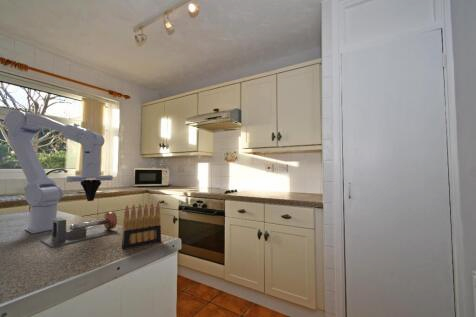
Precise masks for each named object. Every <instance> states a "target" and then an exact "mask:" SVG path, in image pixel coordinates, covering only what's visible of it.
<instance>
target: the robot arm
mask: <svg viewBox="0 0 476 317" xmlns="http://www.w3.org/2000/svg"><path fill="white" fill-rule="evenodd" d="M3 123H4V125H5V127H6V129H7V140H8V143H9V145H10V146H11V148H12V151H13V152H14V155H15V157H16V159H17V162H18V163H19V165H20V167H21V169H22V171H23V174H24V176H25V178H26V181H27V182H28V183H27V184H26V185H25V186H24V188H23V190H24V192H25V196H24V197H25V202H26V203H27V204H28V205H29V207H30V210H29V215H28V227H25V228H24V229H25V230H26V231H28V232H29V233H31V234H36V233H42V232H47V231H52V221H53V219H54V218H58V215H57V214H58V204H59V202H60V200H61V199H62V198H63V190H62V188H61V187H60V186H58V185H57V183H56V181H54V180H53V179H51V178H49V177H48V175H47V174H46V171H45V169H44V166H43V165H42V162H41V161H40V158H39V156H38V154H37V152H36V149H35V148H34V145H33V144H32V142H31V140H32V139H34V138H35V137H36V136H37V135H38V134H39V133H40V132H41V131H42V130H44V129H50V130H53V131H56V132H57V133H62V136H63V138H65V139H67V140H69V141H73V142H75V143H78V144H79V145H81V150H82V158H81V159H82V164H81V175H76V176H75V175H74V176H71V175H70V176H69V175H68V176H66V183H75V182H78V183H79V182H80V185H81V187H82V188H83V190H84V193H85V197H86V201H87V202H93V201H94V200H95V196H96V194H97V192H98V189H99V187H100V186H101V184H102V181H103V182H104V181H113V177H114V176H113V175H108V174H107V175H101V163H102V162H101V161H102V147H103V146H104V144H105V138H104V136H103V135H102V134H100V133H99V132H94V131H92V130H91V129H90V128H84V127H81V126H80V124H77V123H68V124H64V123H61V122H60V121H56V120H54V119H52V118H49V117H47V116H44V115H39V114H36V113H31V112H27V111H22V110H20V109H12V110H10V111H8V112H7V114H6V116H5V118H4V119H3Z"/></svg>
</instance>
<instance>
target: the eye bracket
mask: <svg viewBox="0 0 476 317" xmlns="http://www.w3.org/2000/svg"><path fill="white" fill-rule="evenodd" d="M117 233H118V231H116V230H114V229H109V230H108V229H106V228H105V226H101V227H98V228H93V229H87V228H82V229H76V230H70V229H69V230H67V219H66V218H62V217H57V218H54V219H53V221H52V230H51V237H47V238H41V239H40V242H41V243H43V244H45V245H47V247H49V248H51V249H54V248H58V247H63V246H66V245H71V244H74V243H78V242H79V243H80V242H83V241H87V240H88V241H89V240H92V239H97V238H100V237H101V238H102V237H105V236H109V235H115V234H117Z"/></svg>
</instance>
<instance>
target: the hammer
mask: <svg viewBox="0 0 476 317" xmlns="http://www.w3.org/2000/svg"><path fill="white" fill-rule="evenodd" d="M103 216H104V217H103V219H102V218H101V219H97V220H91V221H85V222H80V223H79V222H78V223H73V224H70V225H69V230H76V229H82V228H86V229H87V228H91V227H96V226H102V225H104V226H103V227H105V228H106V229H108V230H109V229H111V230H114V229H115V228H116V227H117V224H118V216H117V214H116V213H115V211H109V212H106V213H105V214H104V215H103Z"/></svg>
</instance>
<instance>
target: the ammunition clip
mask: <svg viewBox="0 0 476 317" xmlns="http://www.w3.org/2000/svg"><path fill="white" fill-rule="evenodd" d="M137 207H138V208H137V211H136V206H135V204H133V205H132V207H131V210H130V209H129V205H126V206H125V208H124V216H123V221H122V222H123V223H122V224H123V226H122V237H121V238H122V240H121V249H122V250H128V249H134V248H137V247H144V246H148V245H152V244H158V243H161V242H162V225H161V207H160V203H159V202H157V203H156V206H154V203H153V202H151V204H150V207H148V204H147V203H145V204H144V208H143V209H142V204H141V203H140V204H139V205H138V206H137ZM130 212H131V214H130ZM136 213H137V215H136Z"/></svg>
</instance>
